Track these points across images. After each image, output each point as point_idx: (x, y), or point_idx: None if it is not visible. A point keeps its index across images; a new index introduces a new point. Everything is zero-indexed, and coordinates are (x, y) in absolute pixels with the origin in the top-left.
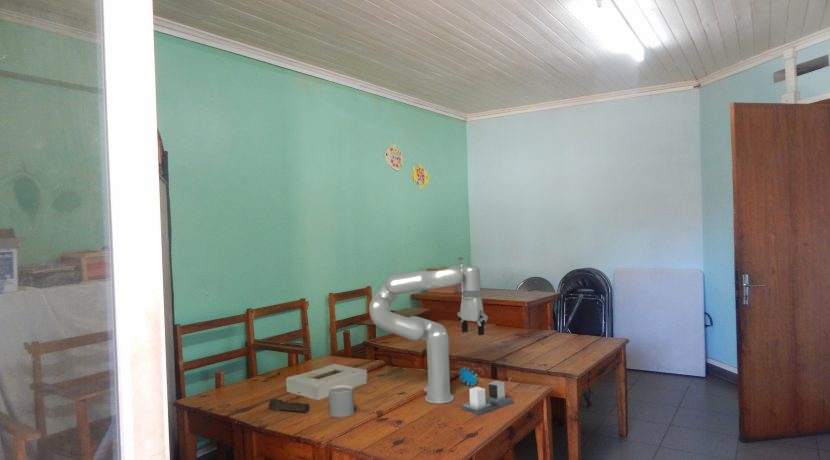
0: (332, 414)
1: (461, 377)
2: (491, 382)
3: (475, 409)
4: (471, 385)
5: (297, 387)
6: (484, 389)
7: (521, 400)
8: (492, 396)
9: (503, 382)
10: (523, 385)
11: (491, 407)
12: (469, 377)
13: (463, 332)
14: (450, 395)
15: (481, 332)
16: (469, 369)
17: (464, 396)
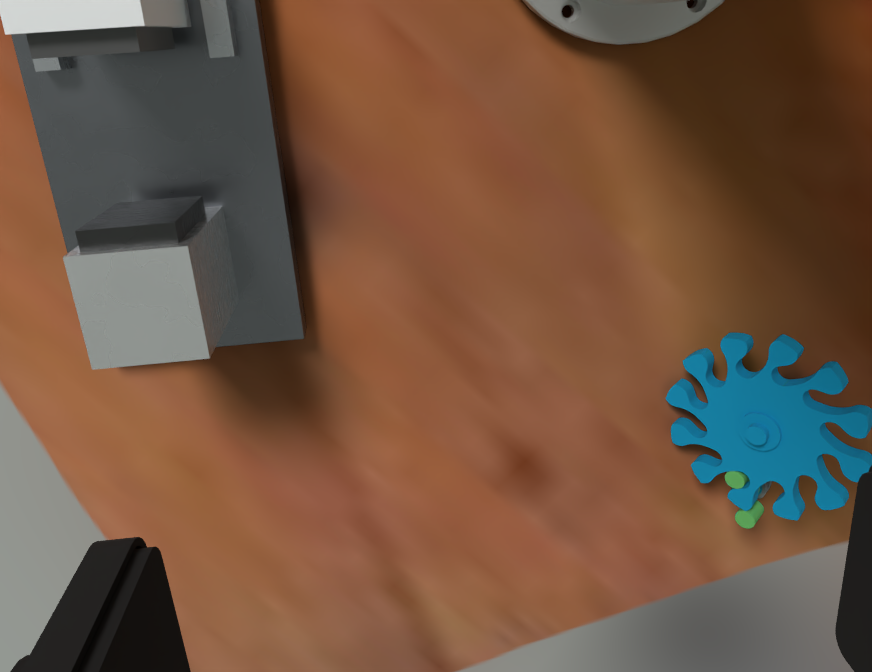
0: None
1: (774, 347)
2: (180, 272)
3: None
4: (676, 383)
5: None
6: (5, 22)
7: (120, 433)
8: (156, 201)
9: (101, 366)
10: (395, 667)
11: (15, 49)
12: (741, 425)
13: (866, 478)
14: (580, 3)
15: (19, 663)
16: (821, 504)
17: (518, 147)
